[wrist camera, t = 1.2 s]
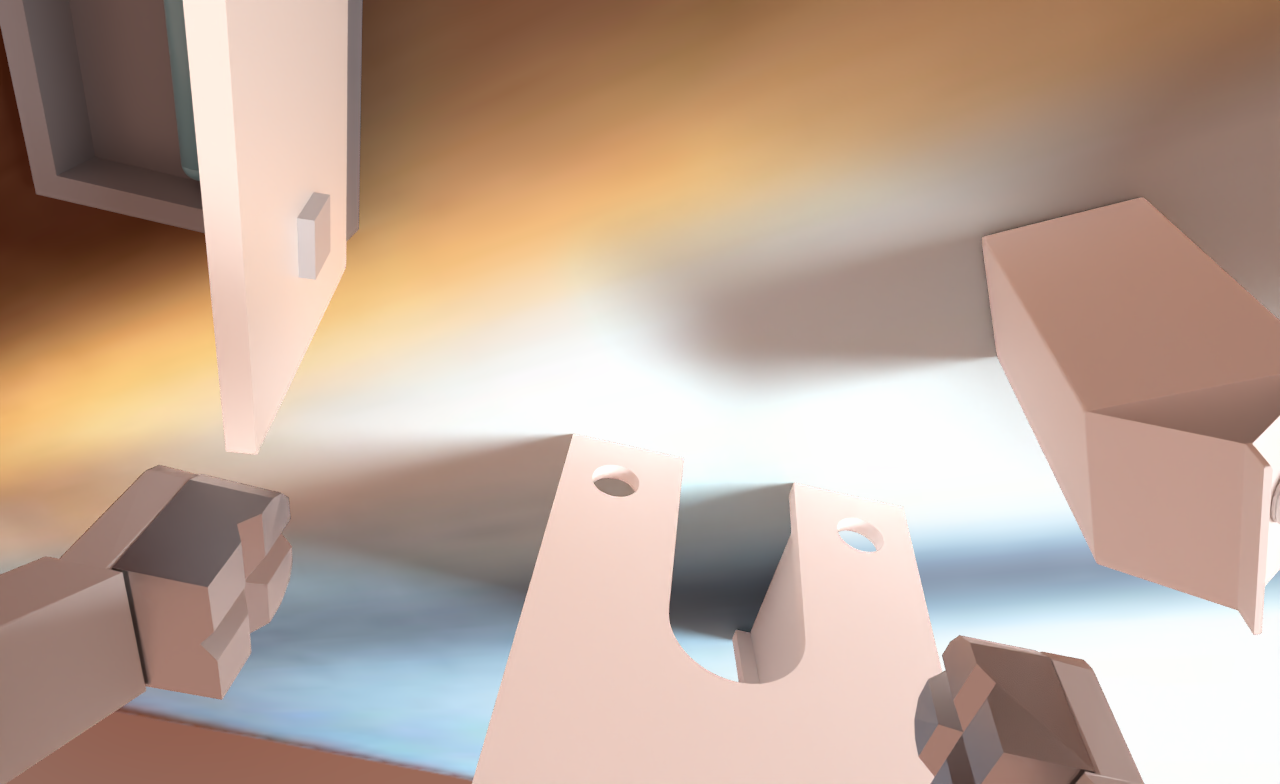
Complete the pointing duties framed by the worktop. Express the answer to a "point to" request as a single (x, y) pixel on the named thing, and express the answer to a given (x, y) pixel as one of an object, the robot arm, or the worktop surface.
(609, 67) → the worktop surface
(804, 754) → the white bracket plate
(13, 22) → the shallow grey box
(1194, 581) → the milk carton
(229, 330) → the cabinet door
